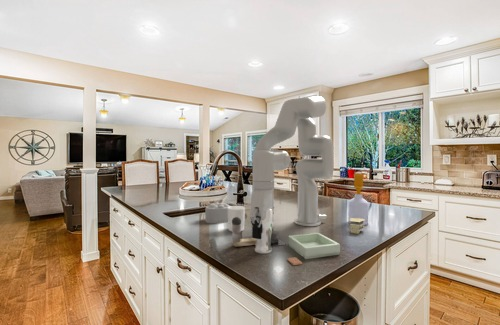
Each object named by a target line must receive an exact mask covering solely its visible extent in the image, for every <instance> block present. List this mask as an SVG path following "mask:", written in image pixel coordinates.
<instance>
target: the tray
mask: <svg viewBox="0 0 500 325" xmlns="http://www.w3.org/2000/svg"><path fill="white" fill-rule="evenodd" d="M287 246H288V247H290V248H291V249H292V250H293V251H295V252H296V253H297V254H298V255H300V256H301V257H302V258H303V259H305V260H309V259H316V258H317V259H319V258H323V257H331V256H339V255H340V254H341V244H340V243H338V242H337V241H335V240H333V239H331V238H329V237H327V236H326V235H323V234H321V233H320V232H312V233H303V234H301V233H300V234H293V235H288V236H287Z"/></svg>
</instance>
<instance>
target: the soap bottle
mask: <svg viewBox="0 0 500 325" xmlns="http://www.w3.org/2000/svg"><path fill="white" fill-rule="evenodd" d="M353 179H354V180H353V188H354V189H355V190H356V192H354V197H353V198H351V199H350V200H348V207H347V208H348V212H347V213H348V214H347V219H348V220H347V222H348V223H349V224H350V218H361V219H365V220H364V221H363V222H365V223H364V226H367V225H369V202H368V201H367V200H366V199H365V198H363V193H362V192H361V191H362V189H364V173H362V172H361V173H356V172H355V173H354V174H353Z"/></svg>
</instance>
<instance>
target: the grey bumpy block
mask: <svg viewBox="0 0 500 325" xmlns="http://www.w3.org/2000/svg"><path fill="white" fill-rule="evenodd" d="M229 206H230V204H228V203H226V202H218V201H217V202H213V203H210V204H209V205H208V206H205V209H204V210H205V214H204V216H205V221H204V222H205V223H207V224H223V223H228V209H227V208H228V207H229Z"/></svg>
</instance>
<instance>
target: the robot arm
mask: <svg viewBox="0 0 500 325" xmlns="http://www.w3.org/2000/svg"><path fill="white" fill-rule="evenodd" d="M326 110H327V101H326V100H325V98H324V97H322V96H305V97H298V98H296V97H295V98H292V99H287V100H286V101H285V102H283V104H282V106H281V108H280V112H279V113H278V116H277V119H276V121H275V123H274V124H275V125H274V126H273V127H272V128H270V129H269V130H268V131H267V132H266V133H265V134H264V135H262V136H261V137H260V139H259V140H258V142H257V143H256V145H255V149H254V151H253V153H252V157H251V158H252V160H251V161H252V192H251V199H250V210H249V211H250V214H249V215H250V216H249V217H250V223H251V227H252V229H251V231H252V232H251V234H252V235H251V238H255V239H261V238H262V227H260V226H261V223H262V220H265V218H266V212H267V210H269V209H272V208H273V215H274V212H275V206H274V205H275V204H274V203H275V202H274V191H275V171H284V170H286V169H288V168H289V166H290V164H291V157H290V155H289V152H287V151H285V150H280V149H272V148H273V147H274V146H276V145H277V144H280V143H283V142H285V141H286V140H289V139H291V138H292V137H294V135H295V134H296V131H297V142H298V146H297V147H298V152H299V154H300V155H301V156H306V157H321V158H301V159H300V160H298V161H297V162H296V165H295V170H296V176H297V218H295V219H294V224H295V225H298V226H302V227H303V226H304V227H319V226H320V225H321V224H322V223H321V220H323V219H324V220H325V219H327V215H326V214H321V213H319V212H318V211H319V210H318V209H319V206H318V205H319V203H318V202H319V201H318V200H319V197H318V196H319V195H318V193H319V188H318V184H317V182H316V181H315V179H317V180H328V179H331V178H332V177H333V175H334V169H335V168H334V167H335V166H334V144H333V140H332V138H331V137H330V136H328V135H317V125H316V123H315V121H314V120H313V119H314V118H315V119H316V118H319V117H323V116H324V115H325V114H326ZM257 216H260V218H258V217H257ZM257 220H258V221H259V223H258V222H257ZM272 231H274V228H273V229H272Z"/></svg>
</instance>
